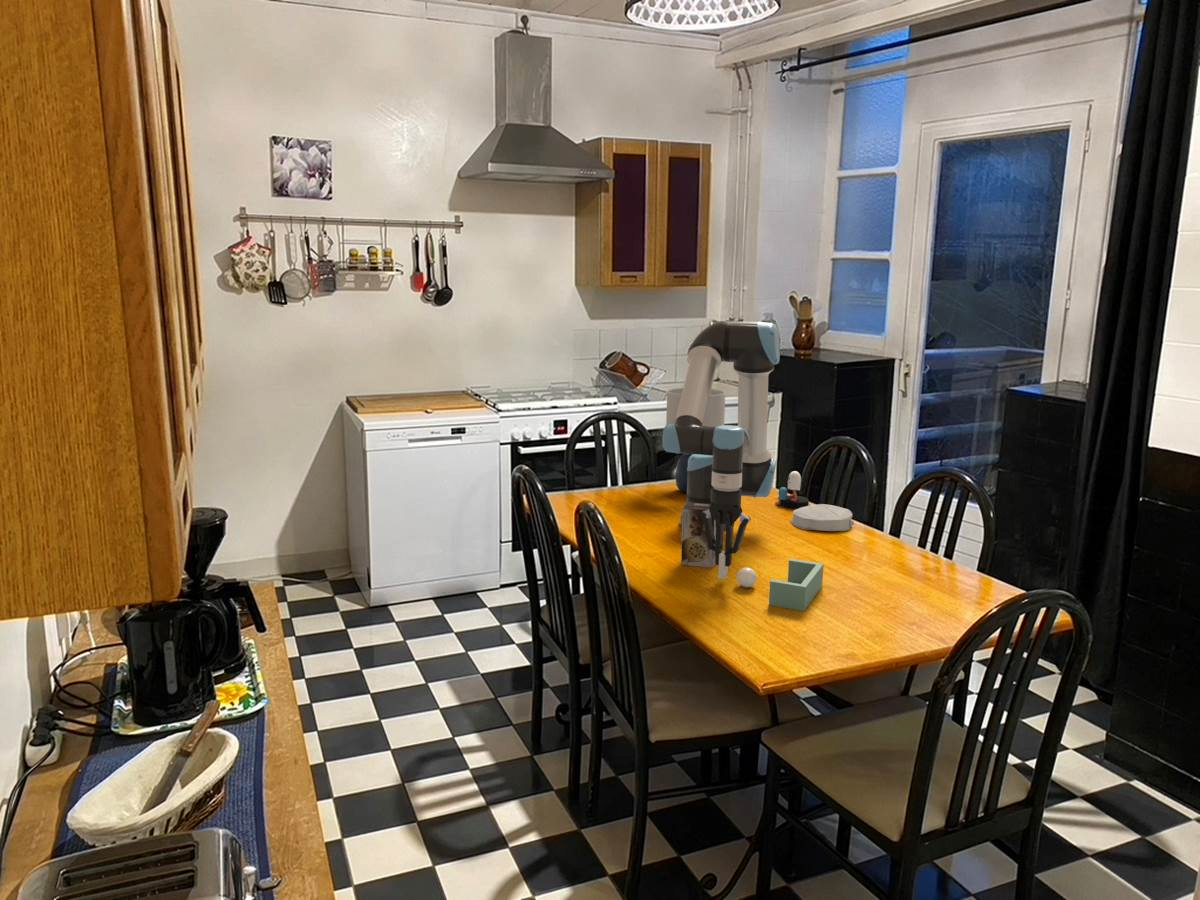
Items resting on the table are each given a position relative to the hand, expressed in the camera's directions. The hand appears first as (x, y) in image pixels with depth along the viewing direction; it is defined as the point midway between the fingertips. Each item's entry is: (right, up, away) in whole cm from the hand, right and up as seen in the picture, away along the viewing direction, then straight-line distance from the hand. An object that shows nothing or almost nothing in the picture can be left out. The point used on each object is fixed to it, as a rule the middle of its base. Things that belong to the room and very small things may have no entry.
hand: (722, 577), depth 230 cm
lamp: (+2, +17, +92) cm, 94 cm away
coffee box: (-4, +1, +16) cm, 16 cm away
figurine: (+34, +13, +76) cm, 84 cm away
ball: (+6, 0, -3) cm, 6 cm away
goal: (+16, -3, -7) cm, 18 cm away
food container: (+39, +9, +55) cm, 68 cm away
